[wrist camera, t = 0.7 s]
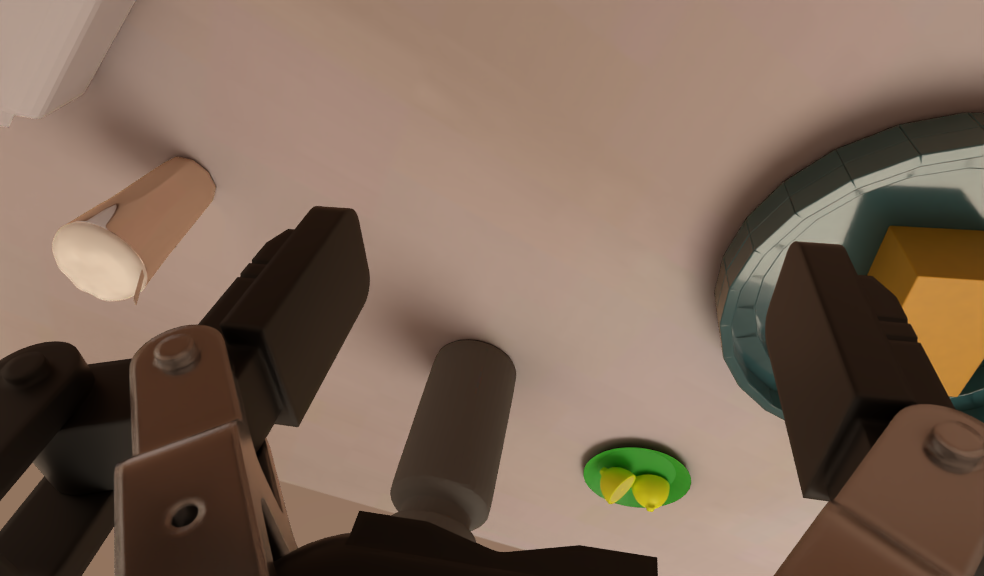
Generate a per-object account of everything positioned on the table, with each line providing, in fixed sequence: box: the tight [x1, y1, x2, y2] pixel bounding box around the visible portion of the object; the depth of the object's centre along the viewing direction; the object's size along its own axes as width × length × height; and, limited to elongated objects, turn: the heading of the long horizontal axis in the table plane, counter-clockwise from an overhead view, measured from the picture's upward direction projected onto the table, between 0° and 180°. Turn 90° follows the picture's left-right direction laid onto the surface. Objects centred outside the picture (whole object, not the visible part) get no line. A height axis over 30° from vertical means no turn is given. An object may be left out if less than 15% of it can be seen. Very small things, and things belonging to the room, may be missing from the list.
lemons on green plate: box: [584, 447, 691, 512], centre depth 45 cm, size 8×8×3 cm
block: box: [867, 226, 984, 397], centre depth 30 cm, size 8×5×4 cm, turn 3°
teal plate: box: [714, 113, 984, 423], centre depth 31 cm, size 19×19×3 cm
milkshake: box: [52, 156, 216, 305], centre depth 32 cm, size 4×5×10 cm
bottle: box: [390, 340, 516, 543], centre depth 36 cm, size 6×6×15 cm
